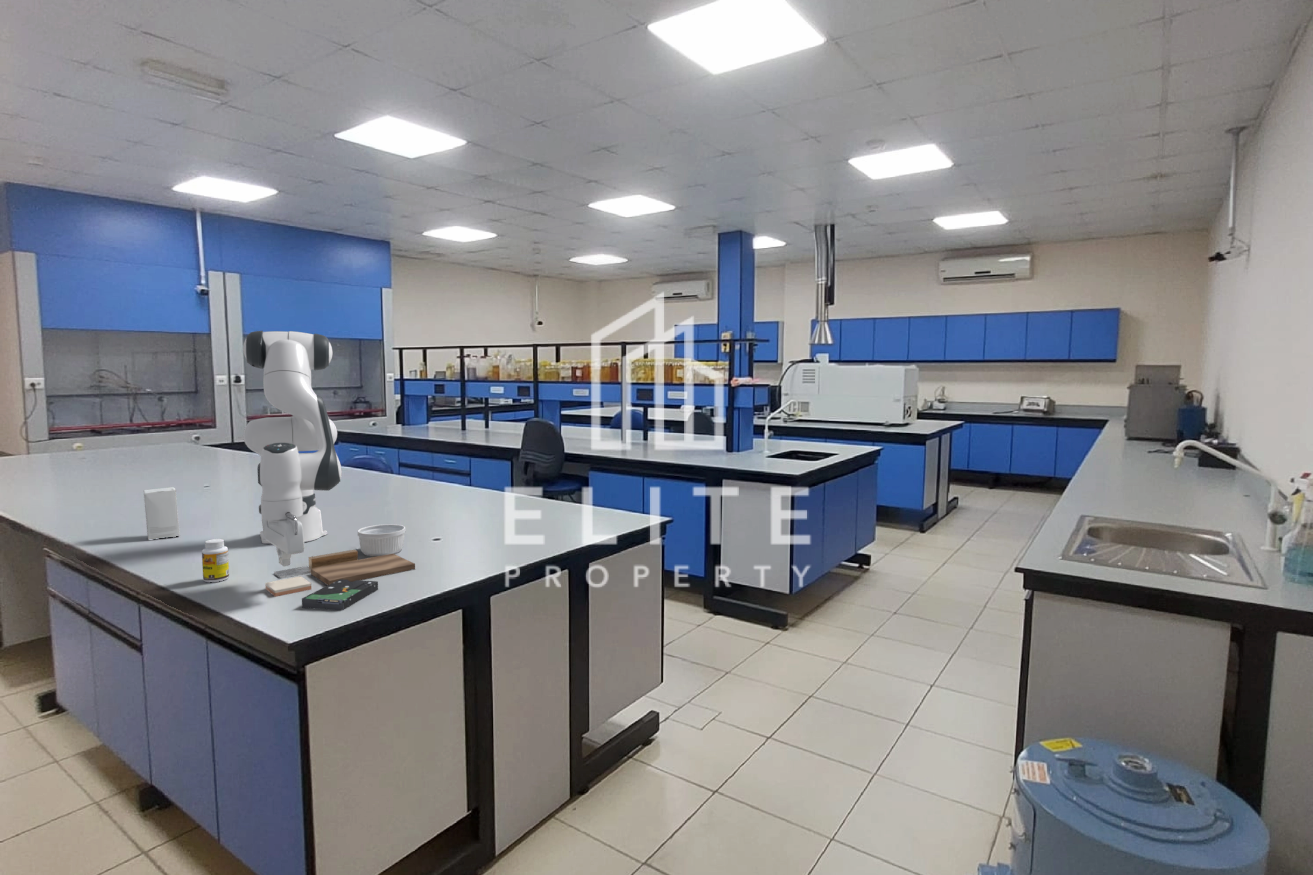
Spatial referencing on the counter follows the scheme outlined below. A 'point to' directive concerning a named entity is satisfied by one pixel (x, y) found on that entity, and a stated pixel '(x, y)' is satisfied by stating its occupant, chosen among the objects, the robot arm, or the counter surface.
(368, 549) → the ramekin
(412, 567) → the board
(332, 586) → the disk drive
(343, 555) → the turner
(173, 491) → the skincare box
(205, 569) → the supplement bottle
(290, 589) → the tile
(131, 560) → the counter surface
